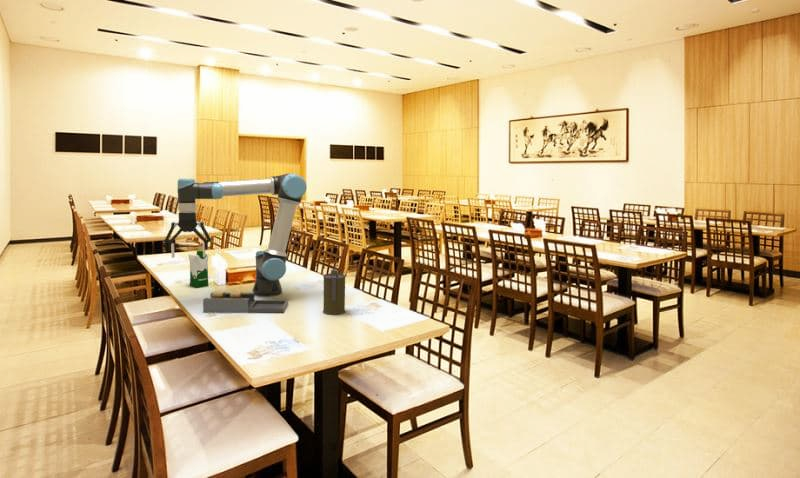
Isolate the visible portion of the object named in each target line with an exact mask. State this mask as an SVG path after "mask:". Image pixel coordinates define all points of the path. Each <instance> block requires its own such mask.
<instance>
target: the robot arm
mask: <svg viewBox="0 0 800 478" xmlns="http://www.w3.org/2000/svg"><path fill="white" fill-rule="evenodd" d="M307 189H308V188H307V183H306V181H305V179H304V178H303V177H302V176H300V175H299V174H297V173H284V174H280V175H274V176H269V177H268V178H255V179H242V180H241V179H240V180H239V179H238V180H225V181H223V180H222V181H205V182H196V179H195V178H178V179H177V206H178V207H177V209H178V222H175V221H173V222H171V223H170V228H169V231H168V233H167V234H166V237H165V239H164V241H163V242H164V243H167V244H168V251H171V259H174V258H175V243H174V241H175V240H176V239H177V238H178V236H179V235H180V234H181V233H182V232H183V233H193V232H194V234H196V236H197V237H198V238H199V239H200V240H201V241H202V242H203V243H202V251H203V257H205V254H206V251H208V249H209V248H208V247H209V246H208V245H209V243H211V242H212V238H211V236H210V235H209V233H208V231H207V229H206V227H205V224H204V221H201V222H197V212H196V211H197V207H196V206H197V205H196V204H197V203H196V200H221V199H222V198H223V197H232V196H233V197H235V196H236V197H237V196H248V195H249V196H250V195H251V196H252V195H263V194H270V195H272V196H274V195H275V196H277V200H278V201H279V204H278V207H277V212H276V215H275V219H274V223H273V228H272V231H271V235H270V239H269V243H268V247H267V248H266V249H264V250H257V251H256V252H255V280H254V284H253V288H252V293H255V296H257V297H275V296H279V295H281V294H282V293H283V288H282V285H281V282H280V279H282V278H283V277H284V276H285V274H286V272H287V265H286V263H287V259H288V254H287V253H286V250H287V247H288V242H289V238H290V234H291V229H292V226H293V221H294V219H295V214H296V210H297V206H298V205H300V204H301V203H302V199H303V196H304V195H305V193H306V192H307ZM177 226H178V228H179V230H177V232H175V234H174V235H173V236H172V233H173V232H174V229H175V228H177ZM197 227H199V228H200V229H201V231H202V232H203V234H204V235H202V233H201V232H200V231H199V230H198V229H197ZM171 236H172V237H171ZM205 237H206V238H205ZM170 238H171V239H170Z"/></svg>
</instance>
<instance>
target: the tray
mask: <svg viewBox="0 0 800 478" xmlns="http://www.w3.org/2000/svg"><path fill="white" fill-rule="evenodd" d="M288 306H289V299H288V300H287V299H285V300H284V299H255V300H254V302H253V303H252V304H251V305H250V306H249V308H248V313H247V314H284V313H285V312H286V309H287V307H288Z"/></svg>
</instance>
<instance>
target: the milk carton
mask: <svg viewBox="0 0 800 478" xmlns="http://www.w3.org/2000/svg"><path fill="white" fill-rule="evenodd" d="M187 255H188V261H189V287H191V288H195V289H200V288H205V287H209V267H208V266H209V264H208V263H209V255H210V254H208V253H205V257H203V249H202V250H201V249H200V250H197V251H196V253H189V254H187Z"/></svg>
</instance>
